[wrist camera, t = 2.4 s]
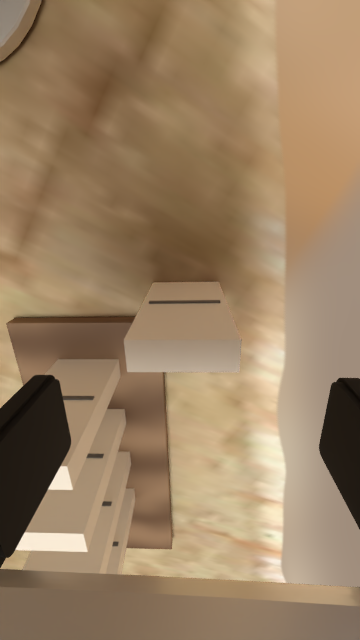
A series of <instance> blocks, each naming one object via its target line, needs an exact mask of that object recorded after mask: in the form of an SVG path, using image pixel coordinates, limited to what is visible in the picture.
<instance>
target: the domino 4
mask: <svg viewBox="0 0 360 640" xmlns="http://www.w3.org/2000/svg"><path fill="white" fill-rule="evenodd" d="M134 505H135V491H134V489H125V493H124V497H123V502H122V506H121V510H120V514H119V519H118V523H117V527H116V532H115V536H114V540H113V545H112V549H111V553H110V558H109V562H108V566H107V570H106V574H121V573H122V568H123V563H124V557H125V552H126V547H127V541H128V536H129V531H130V526H131V520H132V515H133V510H134Z"/></svg>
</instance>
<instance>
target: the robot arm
mask: <svg viewBox="0 0 360 640" xmlns="http://www.w3.org/2000/svg"><path fill="white" fill-rule="evenodd" d="M40 4H41V0H0V62H1V61H2V60H4V59H5V58H6V57H7V56H8V55H9V54H11V53H12V52H13V51H14V50H15V49H16V48H17V47H18V46H19V45H20V43H21V42H22V40H23V39H24V37H25V36H26V34H27V33H28V31H29V29H30V28H31V26H32V24H33V22H34V19H35V17H36V14H37V12H38V9H39V7H40ZM70 446H71V435H70V430H69V426H68V421H67V416H66V411H65V406H64V401H63V396H62V391H61V386H60V382H59V380H58V379H55V377H54V376H53V375H34V376H33V377H32V378H31V379H30V380H29V381H28V382H27V383H26V384H25V385H24V386H23V387H22V388H21V389H20V390H19V391H18V392H17V393H16V394H14V395H13V396H12V397H11V398H10V399H9V400H8V401H7V402H6V403H5V404H4V405H3V406H2V407H1V408H0V568H1V566H2V564H3V562H4V560H5V559H6V558H8V557H10V556H11V555H12V554H13V553H14V551H15V549H16V548H17V546H18V544H19V542H20V540H21V538H22V536H23V535H24V533H25V531H26V529H27V527H28V525H29V524H30V522H31V520H32V518H33V516H34V514H35V512H36V511H37V509H38V507H39V505H40V503H41V501H42V499H43V498H44V496H45V494H46V492H47V490H48V488H49V487H50V485H51V483H52V481H53V479H54V477H55V475H56V474H57V472H58V470H59V468H60V466H61V464H62V463H63V461H64V459H65V457H66V455H67V453H68V451H69V449H70ZM319 449H320V454H321V456H322V459H323V461H324V463H325V464H326V466H327V468H328V470H329V472H330V474H331V476H332V478H333V480H334V482H335V483H336V485H337V487H338V489H339V491H340V493H341V495H342V497H343V499H344V500H345V502H346V504H347V506H348V508H349V510H350V512H351V514H352V516H353V517H354V519H355V521H356V523H357V525H358V527H359V529H360V379H359V378H339V379H338V380H337V382H334V383H332V385H331V389H330V395H329V399H328V404H327V409H326V414H325V419H324V424H323V429H322V434H321V439H320V444H319ZM0 640H360V587H344V586H326V585H309V584H292V583H275V582H257V581H238V580H219V579H200V578H180V577H161V576H141V575H121V574H99V573H77V572H54V571H32V570H9V569H0Z"/></svg>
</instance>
